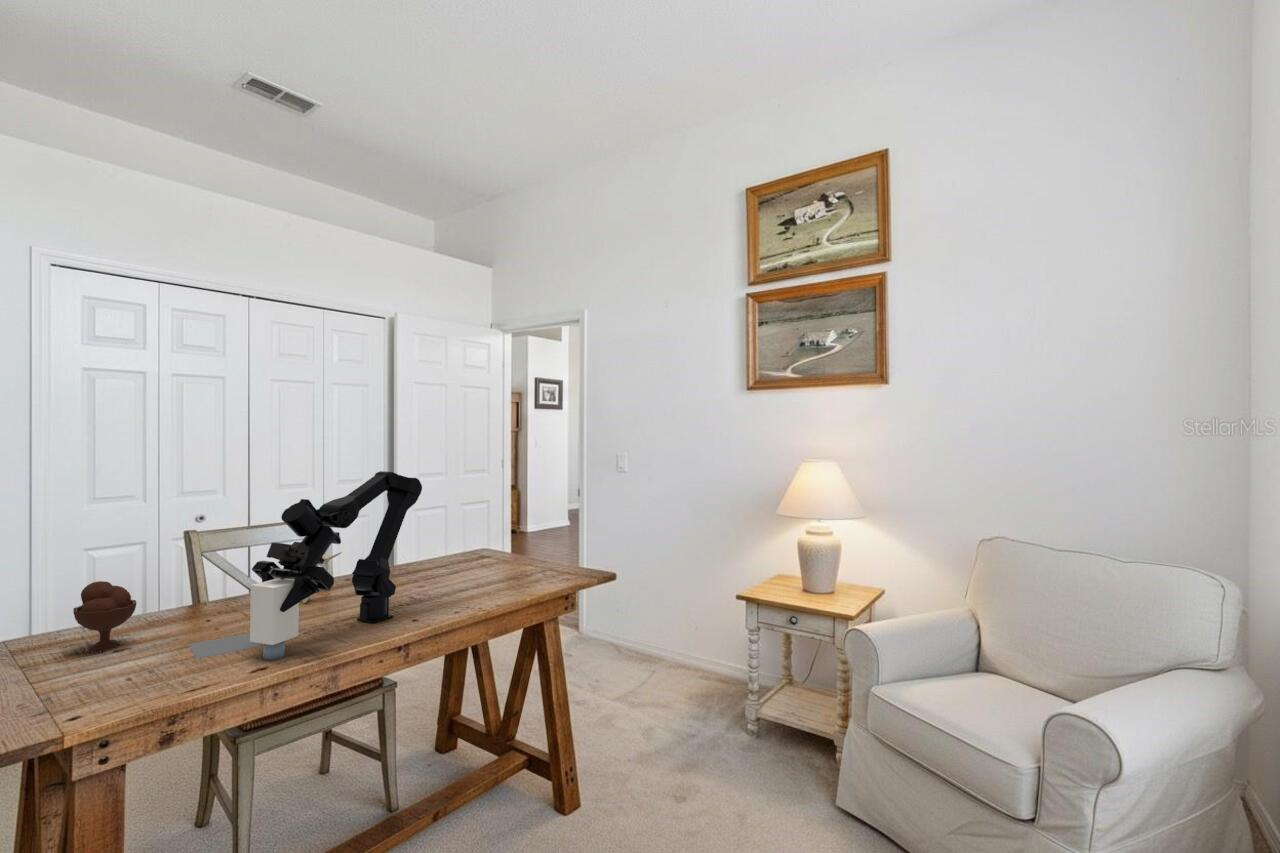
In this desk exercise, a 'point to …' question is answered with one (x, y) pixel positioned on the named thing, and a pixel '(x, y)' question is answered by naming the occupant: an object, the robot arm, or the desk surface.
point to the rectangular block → (272, 612)
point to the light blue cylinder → (273, 651)
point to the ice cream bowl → (104, 611)
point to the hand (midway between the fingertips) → (269, 609)
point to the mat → (222, 645)
